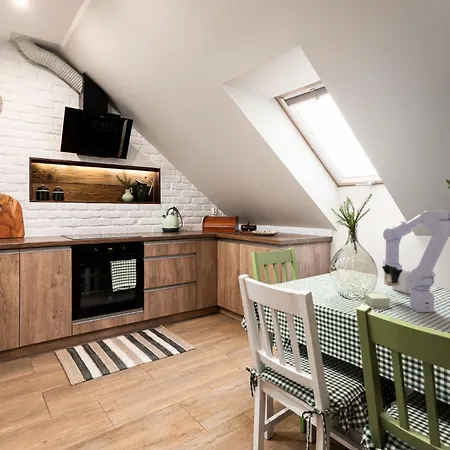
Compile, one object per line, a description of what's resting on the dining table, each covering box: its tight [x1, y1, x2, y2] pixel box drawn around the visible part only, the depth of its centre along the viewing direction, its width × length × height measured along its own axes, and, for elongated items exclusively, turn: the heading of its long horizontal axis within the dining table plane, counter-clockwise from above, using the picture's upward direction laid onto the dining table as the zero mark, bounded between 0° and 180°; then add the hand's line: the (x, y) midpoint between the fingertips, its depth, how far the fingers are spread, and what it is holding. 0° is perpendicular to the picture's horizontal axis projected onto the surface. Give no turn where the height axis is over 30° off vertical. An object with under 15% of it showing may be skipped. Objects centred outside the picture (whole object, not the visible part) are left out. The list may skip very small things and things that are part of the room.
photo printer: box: [391, 267, 412, 294], centre depth 182 cm, size 10×4×12 cm, turn 17°
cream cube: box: [383, 273, 400, 287], centre depth 168 cm, size 5×5×5 cm
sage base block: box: [364, 293, 391, 308], centre depth 160 cm, size 8×8×4 cm
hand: (391, 281), depth 168 cm, fingers closed on cream cube, 5 cm apart
